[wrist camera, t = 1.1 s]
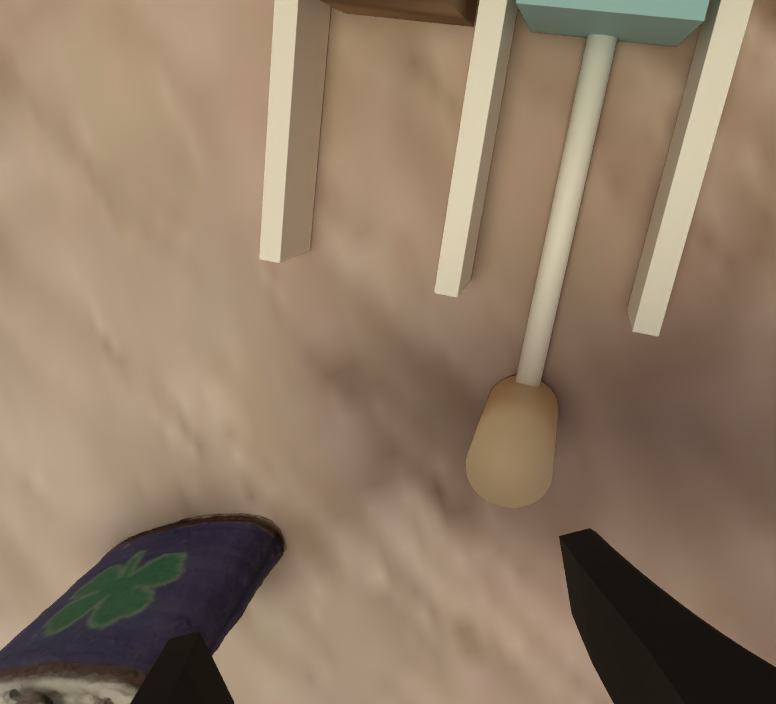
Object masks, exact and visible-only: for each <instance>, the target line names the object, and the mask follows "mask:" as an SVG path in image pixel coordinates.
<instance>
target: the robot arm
mask: <svg viewBox="0 0 776 704" xmlns="http://www.w3.org/2000/svg"><path fill="white" fill-rule="evenodd" d="M559 539H560V545H561V551H562V557H563V563H564V569H565V575H566V581H567V587H568V594H569V600H570V606H571V612H572V615H573V618H574V620H575V623H576V625H577V628H578V630H579V632H580V635H581V637H582V640H583V642H584V645H585V647H586V649H587V652H588V654H589V656H590V659H591V661H592V664H593V665H594V667H595V669H596V671H597V673H598V675H599V677H600V679H601V680H602V682H603V684H604V686H605V688H606V690H607V692H608V693H609V695H610V697H611V699H612V701H613V703H614V704H776V667H774V666H773V665H771V664H769V663H768V662H766V661H765V660H763V659H761V658H760V657H758V656H756V655H755V654H753V653H751V652H750V651H748V650H747V649H745V648H743V647H742V646H740V645H739V644H737V643H736V642H734V641H733V640H731V639H730V638H728V637H727V636H725V635H724V634H722V633H721V632H719V631H718V630H716V629H715V628H714V627H712V626H711V625H709V624H708V623H706V622H705V621H704V620H702V619H701V618H699V617H698V616H696V615H695V614H694V613H692V612H691V611H690V610H688V609H687V608H686V607H684V606H683V605H682V604H680V603H679V602H678V601H676V600H675V599H674V598H673V597H671V596H670V595H669V594H667V593H666V592H665V591H664V590H662V589H661V588H660V587H658V586H657V585H656V584H655V583H653V582H652V581H651V580H650V579H648V578H647V577H646V576H645V575H644V574H642V573H641V572H640V571H639V570H638V569H636V568H635V567H634V566H633V565H632V564H631V563H629V562H628V561H627V560H626V559H625V558H624V557H623V556H621V555H620V554H619V553H618V552H617V551H616V550H615V549H614V548H612V547H611V546H610V545H609V544H608V543H607V542H606V541H605V540H604V539H603V538H602V537H601V536H600V535H599V534H597V533H596V532H595V531H593V530H592V529H590V528H589V529H585V530H581V531H577V532H573V533H570V534H566V535H562V536H559ZM130 704H234V701H233V699H232V697H231V695H230V693H229V691H228V689H227V687H226V685H225V683H224V680H223V678H222V676H221V674H220V672H219V670H218V668H217V666H216V664H215V662H214V660H213V658H212V656H211V653H210V651H209V649H208V647H207V645H206V643H205V641H204V639H203V637H202V635H201V633H200V631H198V632H194V633H190V634H186V635H182V636H179V637H175V638H171V639H169V640H168V642H167V644H166V645H165V647H164V648H163V650H162V652H161V653H160V655H159V656H158V658H157V660H156V661H155V663H154V665H153V666H152V668H151V669H150V671H149V673H148V674H147V676H146V678H145V679H144V681H143V683H142V684H141V686H140V688H139V689H138V691H137V693H136V694H135V696H134V698H133V699H132V701H131V703H130Z"/></svg>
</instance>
